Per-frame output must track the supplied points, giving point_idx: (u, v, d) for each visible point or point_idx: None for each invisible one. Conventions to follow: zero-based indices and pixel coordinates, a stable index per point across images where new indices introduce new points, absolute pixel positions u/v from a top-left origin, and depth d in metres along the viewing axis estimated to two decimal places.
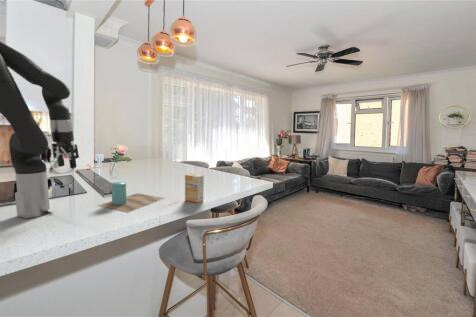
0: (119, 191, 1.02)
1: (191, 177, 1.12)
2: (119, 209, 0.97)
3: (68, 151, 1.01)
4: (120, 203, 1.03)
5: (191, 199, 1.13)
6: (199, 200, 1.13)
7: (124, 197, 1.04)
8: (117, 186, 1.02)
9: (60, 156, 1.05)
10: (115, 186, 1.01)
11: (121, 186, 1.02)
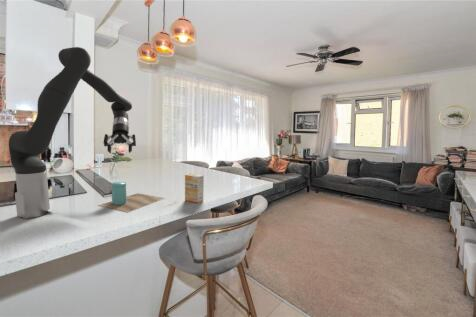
0: (119, 191, 1.02)
1: (191, 177, 1.12)
2: (119, 209, 0.97)
3: None
4: (120, 203, 1.03)
5: (191, 199, 1.13)
6: (199, 200, 1.13)
7: (124, 197, 1.04)
8: (117, 186, 1.02)
9: (110, 144, 1.14)
10: (115, 186, 1.01)
11: (121, 186, 1.02)
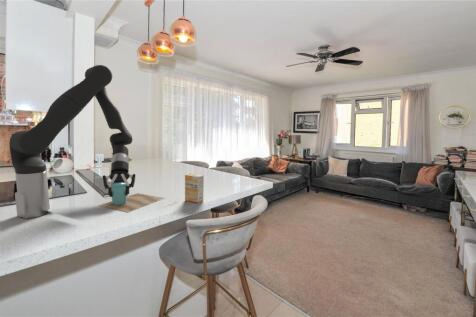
0: (119, 191, 1.02)
1: (191, 177, 1.12)
2: (119, 209, 0.97)
3: None
4: (120, 203, 1.03)
5: (191, 199, 1.13)
6: (199, 200, 1.13)
7: (124, 197, 1.04)
8: (117, 186, 1.02)
9: None
10: (115, 186, 1.01)
11: (121, 186, 1.02)
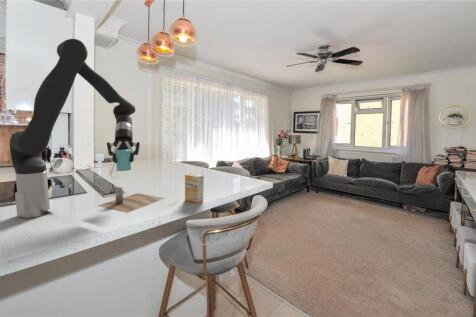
0: (123, 157, 1.01)
1: (191, 177, 1.12)
2: (119, 209, 0.97)
3: None
4: (125, 169, 1.02)
5: (191, 199, 1.13)
6: (199, 200, 1.13)
7: (128, 164, 1.03)
8: (121, 152, 1.01)
9: None
10: (119, 152, 1.01)
11: (125, 152, 1.02)
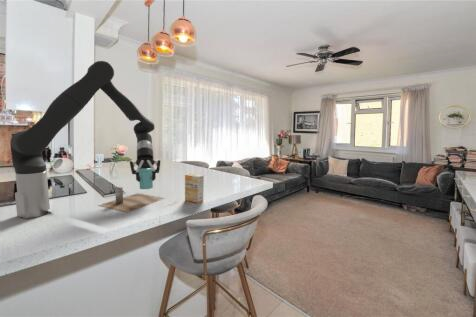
0: (146, 175, 1.05)
1: (191, 177, 1.12)
2: (119, 209, 0.97)
3: None
4: (147, 188, 1.06)
5: (191, 199, 1.13)
6: (199, 200, 1.13)
7: (151, 182, 1.08)
8: (145, 171, 1.05)
9: None
10: (143, 171, 1.05)
11: (148, 171, 1.06)
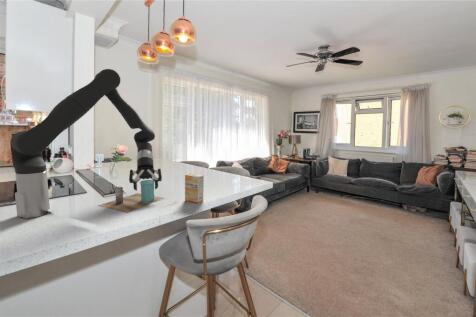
0: (148, 189, 1.07)
1: (191, 177, 1.12)
2: (119, 209, 0.97)
3: None
4: (149, 200, 1.07)
5: (191, 199, 1.13)
6: (199, 200, 1.13)
7: (152, 195, 1.09)
8: (146, 184, 1.06)
9: (136, 181, 1.08)
10: (145, 184, 1.06)
11: (150, 184, 1.07)
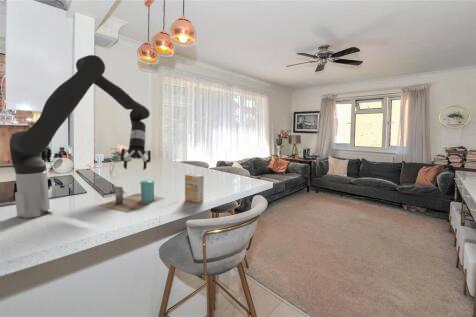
0: (148, 189, 1.07)
1: (191, 177, 1.12)
2: (119, 209, 0.97)
3: None
4: (149, 200, 1.07)
5: (191, 199, 1.13)
6: (199, 200, 1.13)
7: (152, 195, 1.09)
8: (146, 184, 1.06)
9: (126, 160, 1.19)
10: (145, 184, 1.06)
11: (150, 184, 1.07)
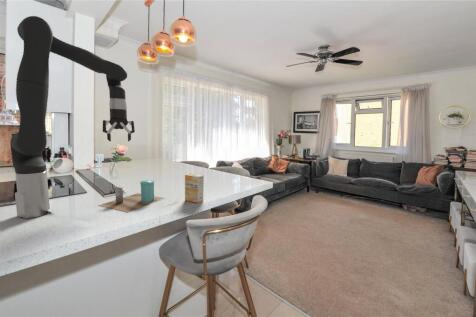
0: (148, 189, 1.07)
1: (191, 177, 1.12)
2: (119, 209, 0.97)
3: None
4: (149, 200, 1.07)
5: (191, 199, 1.13)
6: (199, 200, 1.13)
7: (152, 195, 1.09)
8: (146, 184, 1.06)
9: (109, 132, 1.16)
10: (145, 184, 1.06)
11: (150, 184, 1.07)
